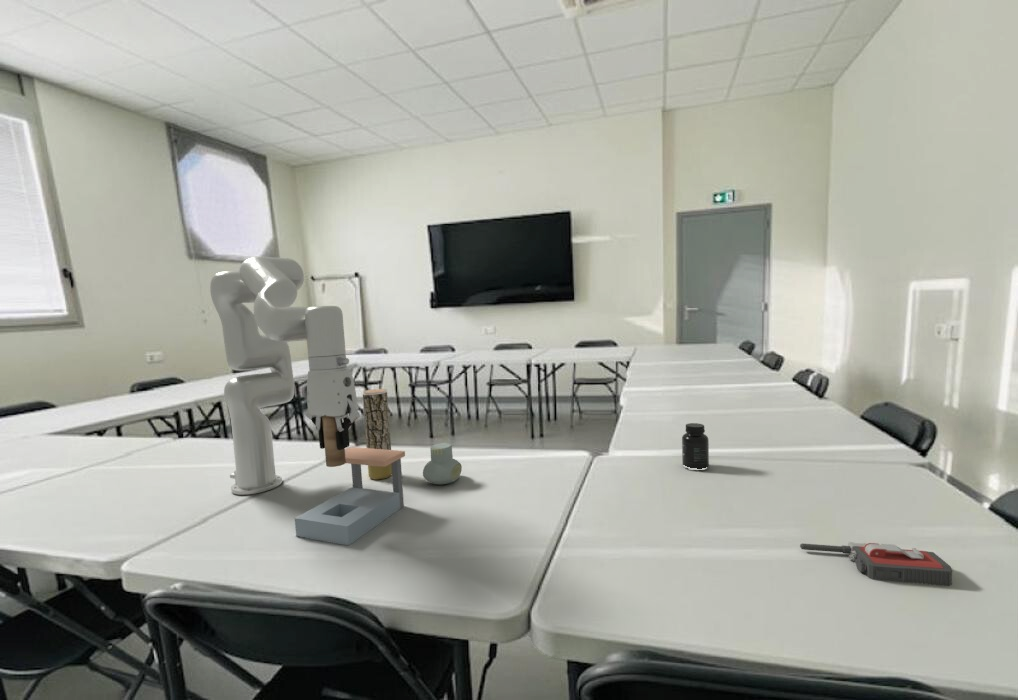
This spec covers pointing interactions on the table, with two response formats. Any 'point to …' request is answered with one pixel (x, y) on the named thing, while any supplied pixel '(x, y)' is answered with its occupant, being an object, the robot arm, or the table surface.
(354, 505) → the socket deck
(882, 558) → the walkie-talkie
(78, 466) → the table surface
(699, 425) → the supplement bottle
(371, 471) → the bark textured cylinder
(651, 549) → the table surface
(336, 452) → the peg
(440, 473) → the air freshener
